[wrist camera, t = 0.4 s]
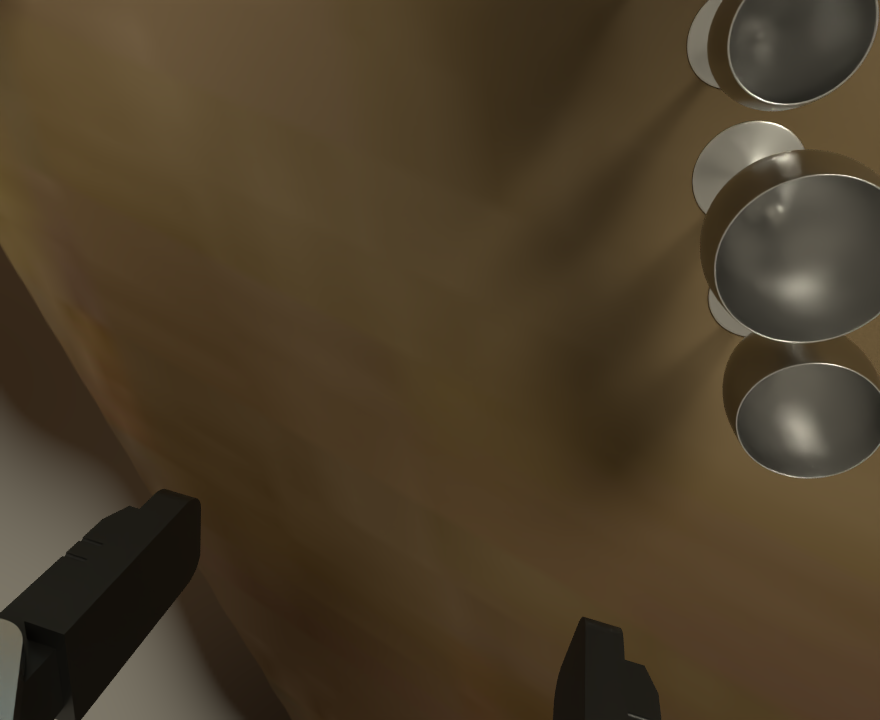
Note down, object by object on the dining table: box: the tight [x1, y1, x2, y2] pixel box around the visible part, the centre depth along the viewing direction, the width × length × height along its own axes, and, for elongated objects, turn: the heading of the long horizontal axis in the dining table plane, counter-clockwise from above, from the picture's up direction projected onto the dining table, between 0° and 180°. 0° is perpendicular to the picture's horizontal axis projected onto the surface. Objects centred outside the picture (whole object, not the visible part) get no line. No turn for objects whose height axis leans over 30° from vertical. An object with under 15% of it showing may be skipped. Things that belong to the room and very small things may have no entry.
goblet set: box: [687, 0, 880, 478], centre depth 20 cm, size 28×6×13 cm, turn 16°
